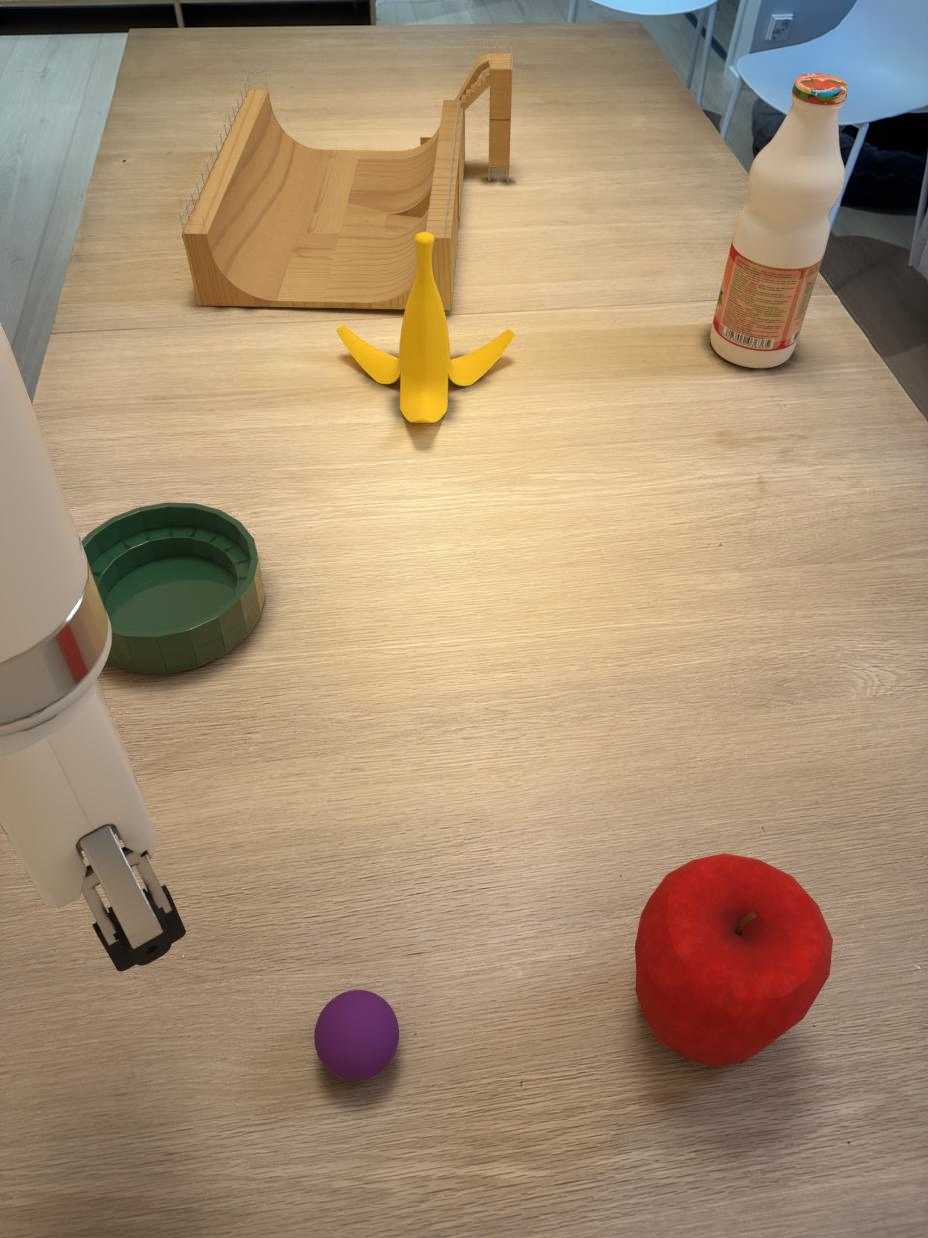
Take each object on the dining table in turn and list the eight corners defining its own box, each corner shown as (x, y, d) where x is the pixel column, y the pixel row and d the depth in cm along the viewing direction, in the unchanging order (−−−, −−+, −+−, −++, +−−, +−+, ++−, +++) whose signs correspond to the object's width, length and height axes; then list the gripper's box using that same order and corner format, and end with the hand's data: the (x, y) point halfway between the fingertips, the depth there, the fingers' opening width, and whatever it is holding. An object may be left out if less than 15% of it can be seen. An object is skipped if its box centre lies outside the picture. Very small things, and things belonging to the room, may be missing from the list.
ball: (344, 1110, 60) (339, 1082, 56) (302, 1039, 63) (295, 1007, 59) (415, 1060, 62) (415, 1030, 58) (372, 993, 65) (368, 960, 61)
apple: (751, 921, 69) (807, 815, 58) (808, 1079, 62) (883, 990, 52) (598, 942, 67) (629, 837, 57) (640, 1106, 60) (683, 1020, 50)
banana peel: (339, 350, 112) (328, 201, 99) (512, 354, 112) (523, 207, 100) (325, 445, 101) (311, 292, 88) (517, 449, 101) (530, 297, 89)
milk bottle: (732, 376, 111) (803, 107, 90) (694, 330, 116) (751, 67, 96) (809, 363, 113) (895, 97, 92) (767, 318, 119) (839, 58, 98)
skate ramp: (259, 159, 145) (240, 35, 133) (509, 163, 144) (513, 38, 132) (198, 312, 118) (168, 173, 106) (505, 318, 117) (510, 178, 105)
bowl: (123, 707, 79) (108, 666, 75) (52, 588, 87) (36, 546, 83) (297, 625, 85) (291, 584, 81) (215, 522, 93) (207, 479, 89)
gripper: (-185, 523, 38) (-29, 775, 51) (-46, 871, 29) (102, 1072, 42) (14, 453, 41) (114, 707, 54) (198, 748, 32) (267, 971, 45)
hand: (109, 866), depth 48 cm, fingers open, 9 cm apart
